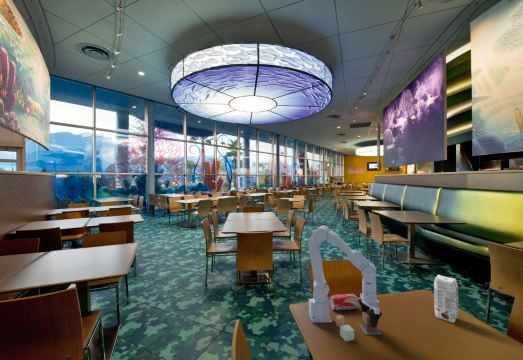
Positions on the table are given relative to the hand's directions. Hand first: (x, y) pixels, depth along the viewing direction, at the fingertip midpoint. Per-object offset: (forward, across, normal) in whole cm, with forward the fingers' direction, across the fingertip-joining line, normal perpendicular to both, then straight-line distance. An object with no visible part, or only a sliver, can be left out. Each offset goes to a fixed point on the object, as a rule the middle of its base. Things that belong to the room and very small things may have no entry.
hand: (369, 321), depth 105 cm
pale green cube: (+4, -5, +12) cm, 13 cm away
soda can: (0, +18, -2) cm, 19 cm away
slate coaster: (+3, 0, 0) cm, 3 cm away
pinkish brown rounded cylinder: (+4, +4, +12) cm, 13 cm away
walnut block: (+3, 0, 0) cm, 3 cm away
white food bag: (+4, +8, -41) cm, 42 cm away
